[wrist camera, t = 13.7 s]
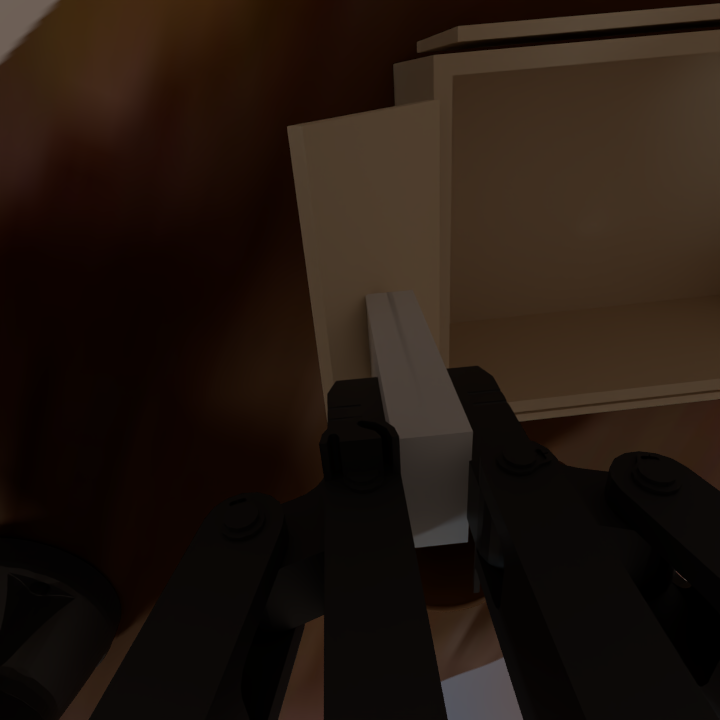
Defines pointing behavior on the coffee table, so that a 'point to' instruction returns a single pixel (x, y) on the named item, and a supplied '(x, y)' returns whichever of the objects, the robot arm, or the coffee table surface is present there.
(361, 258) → the flap
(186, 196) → the coffee table surface
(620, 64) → the carton
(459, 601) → the mug
